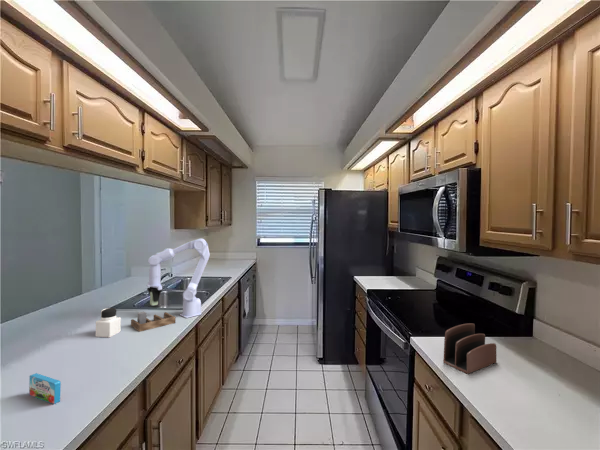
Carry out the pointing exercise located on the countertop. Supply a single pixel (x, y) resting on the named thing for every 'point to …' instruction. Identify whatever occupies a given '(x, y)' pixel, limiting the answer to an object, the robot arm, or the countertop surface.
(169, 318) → the comb rack
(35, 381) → the yogurt
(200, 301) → the robot arm
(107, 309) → the medicine bottle
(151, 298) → the sage block
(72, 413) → the countertop surface
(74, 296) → the countertop surface
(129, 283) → the countertop surface
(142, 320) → the gray block
